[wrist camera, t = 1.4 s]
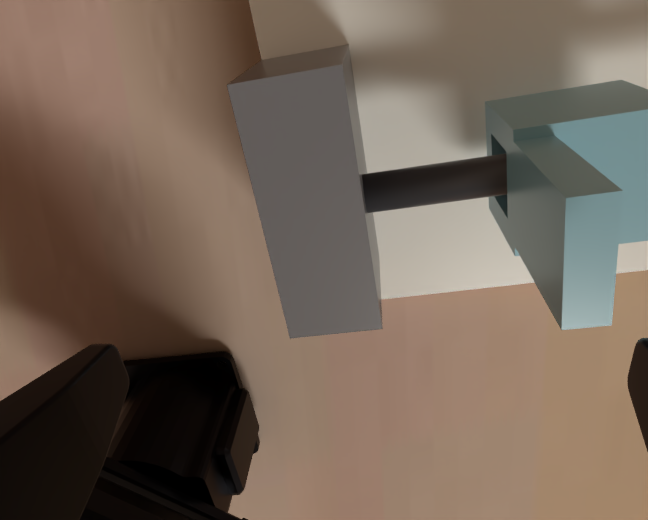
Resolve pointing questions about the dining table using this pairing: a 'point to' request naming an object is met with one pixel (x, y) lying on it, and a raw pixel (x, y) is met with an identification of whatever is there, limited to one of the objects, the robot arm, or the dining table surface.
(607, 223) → the sleeve
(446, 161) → the cable board
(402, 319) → the dining table surface
